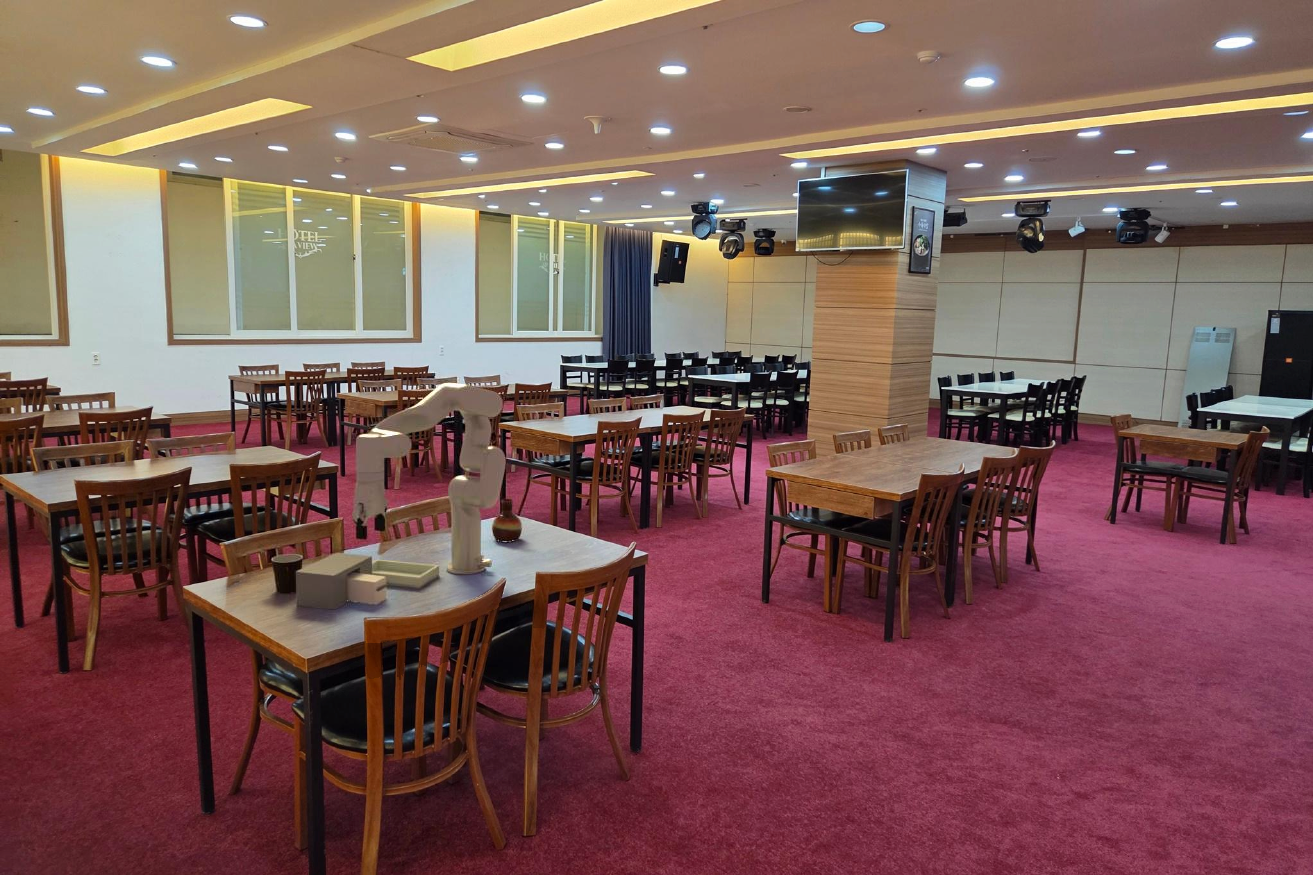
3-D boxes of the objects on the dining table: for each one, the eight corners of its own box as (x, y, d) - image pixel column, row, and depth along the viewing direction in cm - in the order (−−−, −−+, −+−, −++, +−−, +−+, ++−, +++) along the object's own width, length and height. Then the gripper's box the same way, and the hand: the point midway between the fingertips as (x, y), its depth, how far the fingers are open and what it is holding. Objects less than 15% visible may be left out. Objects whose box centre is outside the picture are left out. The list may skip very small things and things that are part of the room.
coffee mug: (281, 584, 254) (280, 553, 253) (308, 586, 254) (307, 554, 253) (262, 597, 243) (260, 564, 241) (291, 598, 243) (290, 566, 241)
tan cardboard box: (388, 599, 245) (388, 577, 244) (377, 605, 240) (377, 582, 239) (345, 593, 249) (344, 571, 248) (333, 599, 244) (333, 576, 243)
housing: (372, 587, 255) (371, 556, 253) (334, 609, 235) (333, 575, 234) (337, 583, 257) (336, 552, 256) (296, 605, 238) (295, 571, 236)
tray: (439, 576, 268) (439, 565, 267) (419, 588, 255) (419, 577, 255) (377, 569, 272) (377, 559, 272) (355, 581, 260) (355, 570, 259)
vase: (496, 535, 319) (497, 496, 317) (525, 536, 318) (525, 497, 316) (488, 542, 308) (488, 502, 306) (517, 544, 307) (517, 504, 305)
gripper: (374, 470, 248) (375, 526, 250) (341, 481, 231) (342, 541, 233) (397, 472, 246) (397, 528, 248) (365, 483, 229) (366, 543, 232)
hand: (370, 534), depth 241 cm, fingers open, 9 cm apart
